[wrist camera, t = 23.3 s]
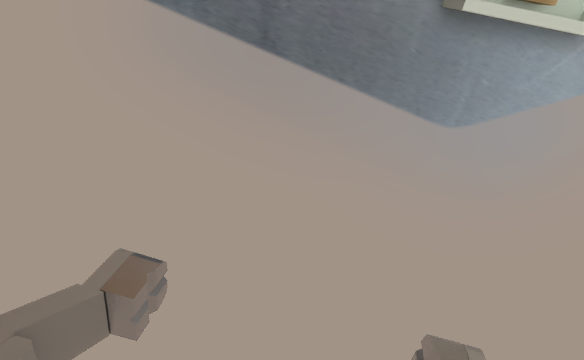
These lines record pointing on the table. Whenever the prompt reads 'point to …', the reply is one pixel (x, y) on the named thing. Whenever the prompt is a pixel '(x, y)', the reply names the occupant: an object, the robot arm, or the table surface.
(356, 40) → the table surface
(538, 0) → the tan wooden bar
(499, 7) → the bin
